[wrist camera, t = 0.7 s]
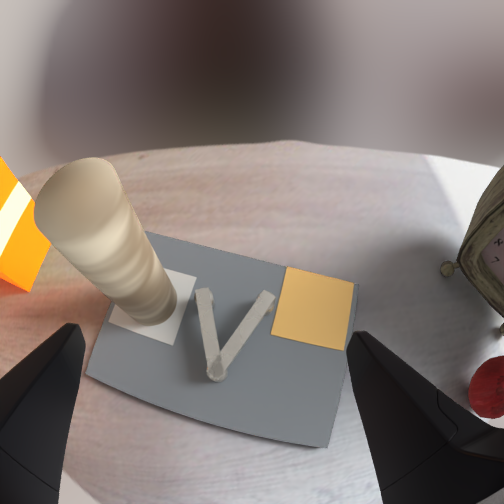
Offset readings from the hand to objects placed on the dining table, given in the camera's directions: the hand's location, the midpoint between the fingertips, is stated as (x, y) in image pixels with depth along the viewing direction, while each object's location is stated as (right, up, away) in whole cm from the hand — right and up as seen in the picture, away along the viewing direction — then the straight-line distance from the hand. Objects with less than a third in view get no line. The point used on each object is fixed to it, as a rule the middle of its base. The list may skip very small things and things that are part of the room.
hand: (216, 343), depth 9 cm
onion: (+23, -11, +12) cm, 28 cm away
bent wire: (-1, -4, +14) cm, 14 cm away
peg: (-7, -1, +15) cm, 16 cm away
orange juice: (-25, +3, +18) cm, 31 cm away
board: (-1, -4, +15) cm, 15 cm away
